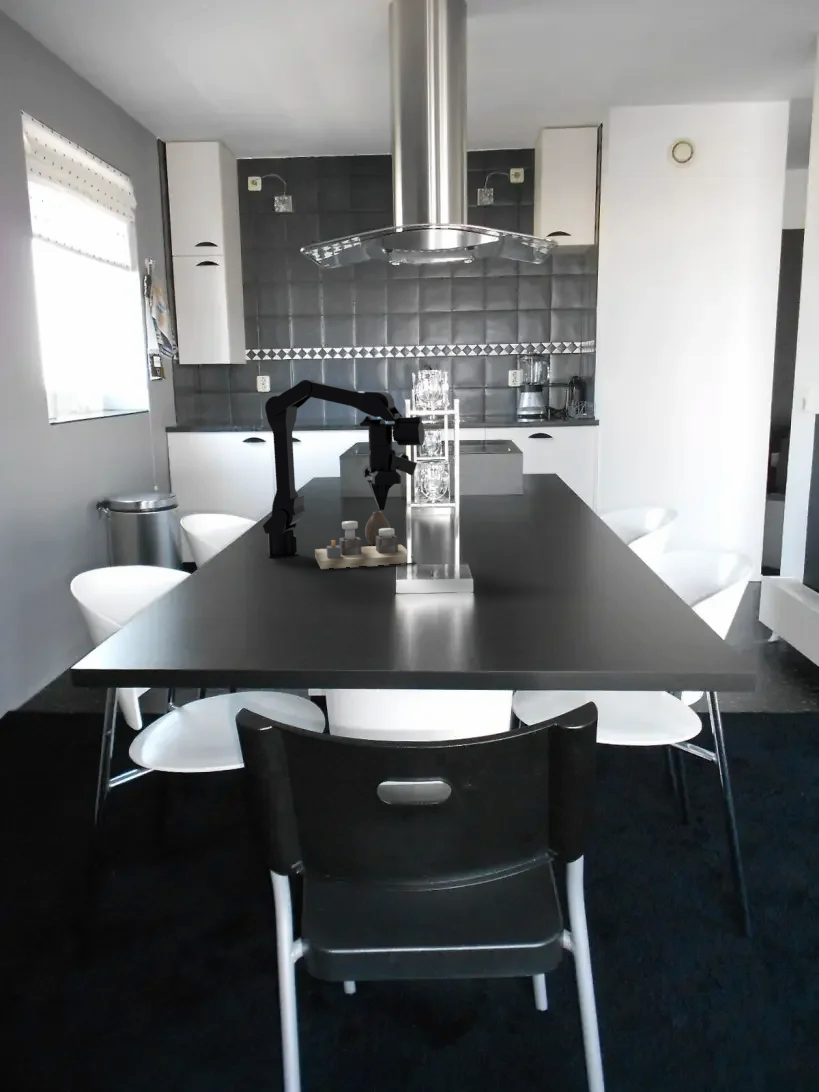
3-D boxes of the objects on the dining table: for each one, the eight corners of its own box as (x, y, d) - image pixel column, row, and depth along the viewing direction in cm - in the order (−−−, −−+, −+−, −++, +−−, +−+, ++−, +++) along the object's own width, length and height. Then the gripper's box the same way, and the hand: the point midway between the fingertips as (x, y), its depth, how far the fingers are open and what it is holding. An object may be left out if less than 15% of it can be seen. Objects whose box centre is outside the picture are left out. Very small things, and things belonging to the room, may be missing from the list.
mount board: (320, 569, 193) (320, 546, 192) (315, 557, 207) (314, 535, 206) (413, 563, 197) (412, 541, 196) (401, 552, 211) (401, 531, 210)
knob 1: (343, 544, 198) (342, 523, 197) (341, 541, 202) (340, 521, 201) (359, 543, 199) (358, 523, 198) (356, 540, 203) (356, 520, 202)
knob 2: (380, 550, 201) (380, 531, 200) (378, 547, 204) (377, 528, 203) (396, 550, 201) (395, 530, 200) (393, 547, 205) (392, 527, 204)
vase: (380, 548, 217) (379, 515, 215) (360, 545, 221) (359, 512, 219) (396, 543, 222) (395, 511, 221) (376, 541, 226) (375, 509, 225)
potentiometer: (328, 558, 195) (327, 542, 194) (326, 556, 198) (326, 539, 197) (340, 557, 196) (340, 541, 195) (339, 555, 199) (338, 539, 198)
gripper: (422, 447, 190) (422, 514, 193) (405, 441, 208) (406, 503, 211) (374, 448, 188) (375, 516, 191) (361, 442, 206) (363, 504, 209)
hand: (381, 509), depth 201 cm, fingers closed
